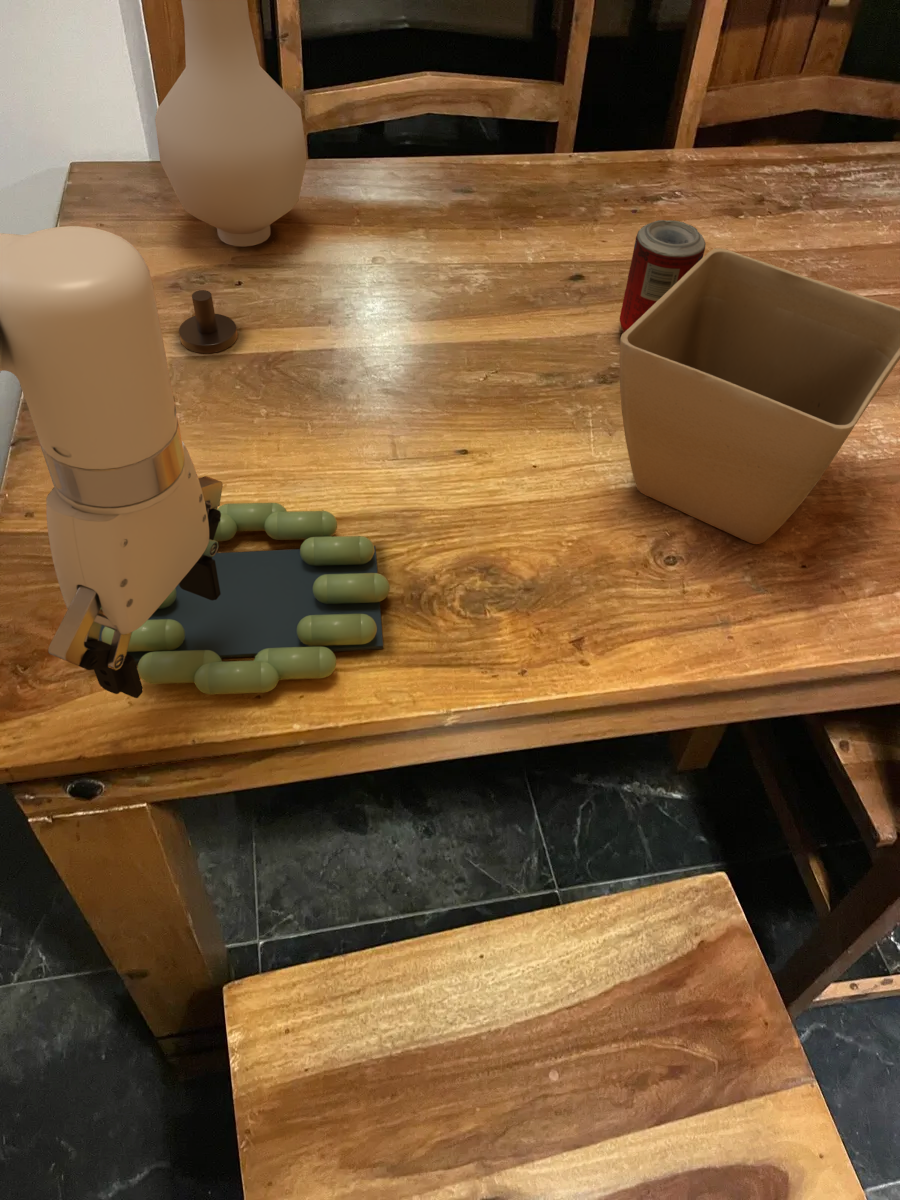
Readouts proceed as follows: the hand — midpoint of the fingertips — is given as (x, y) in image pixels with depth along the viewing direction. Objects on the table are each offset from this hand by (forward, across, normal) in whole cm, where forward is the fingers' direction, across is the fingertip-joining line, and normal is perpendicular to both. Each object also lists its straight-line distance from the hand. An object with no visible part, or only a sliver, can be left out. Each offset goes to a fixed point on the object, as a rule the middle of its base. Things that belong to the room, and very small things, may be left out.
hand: (162, 637), depth 67 cm
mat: (+5, -9, +1) cm, 10 cm away
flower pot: (+4, -41, +33) cm, 53 cm away
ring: (+4, -9, +1) cm, 10 cm away
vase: (+5, -61, -30) cm, 68 cm away
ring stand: (+5, -40, -22) cm, 46 cm away
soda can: (+4, -61, +21) cm, 65 cm away
